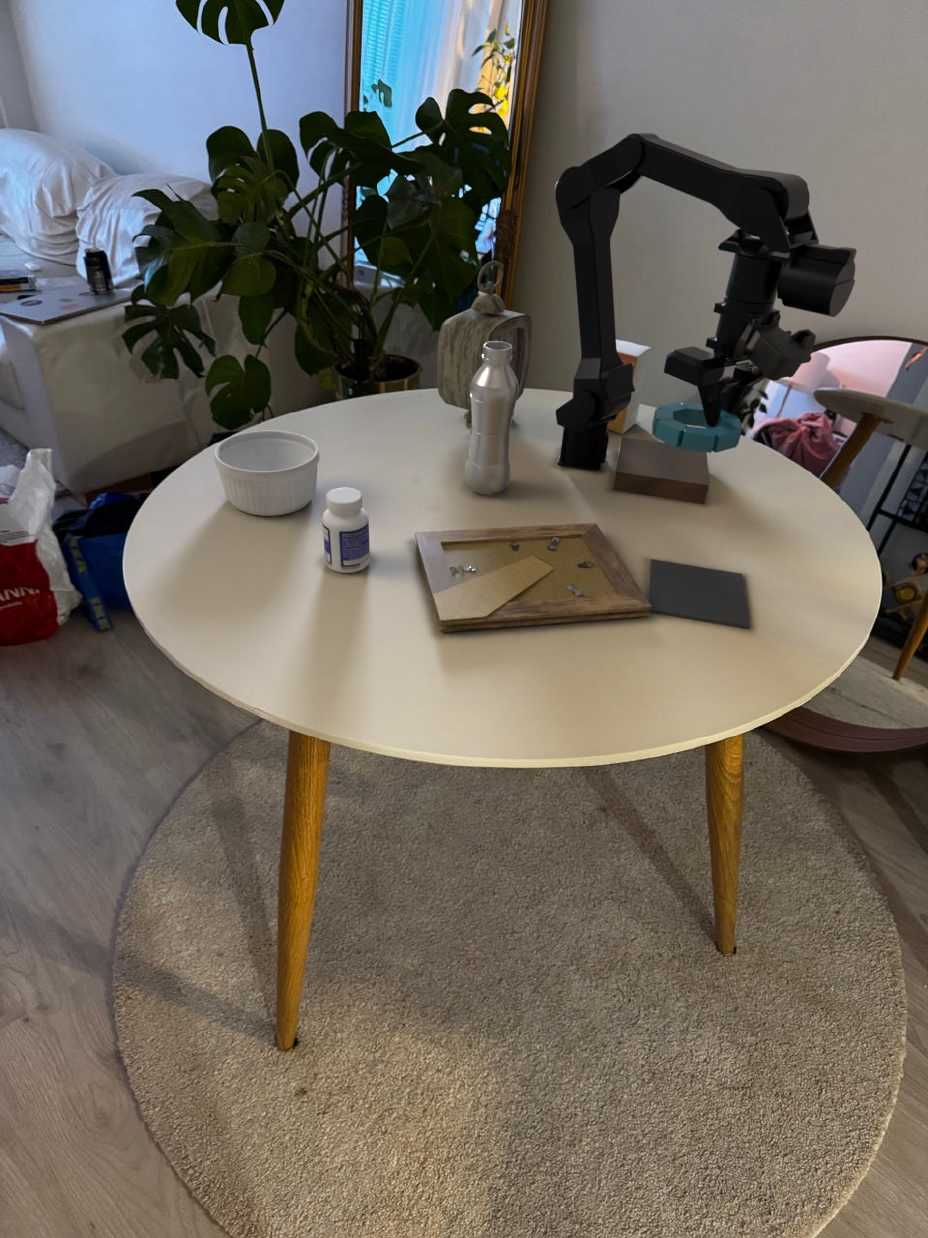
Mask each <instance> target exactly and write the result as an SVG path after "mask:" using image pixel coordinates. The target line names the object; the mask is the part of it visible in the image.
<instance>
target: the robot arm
mask: <svg viewBox="0 0 928 1238" xmlns="http://www.w3.org/2000/svg"><path fill="white" fill-rule="evenodd" d="M643 177H644V178H647V179H649V180H652V181H654V182H656V183H659V184H661V185H664V186H666V187H669V188H671V189H674V190H676V191H679V192H681V193H683V194H686V195H688V196H690V197H693V198H695V199H698V200H700V201H703V202H705V203H708V204H710V205H712V206H713V207H714V208H716V209H718V210H719V212H720V213H721V214H722V215H723V216H724V218H725V219H726V220H727V221H728V222H730V223H731V224H733V225H734V226H736V227H737V229H735V230H734V231H733V233H732V234H731V235H730V236H729V237H727V238H726V239H724V240H723V241H721V242H720V243H719V244H718V245H717V249H718V250H719V251H722V252H727V253H733V254H734V256H733V259H732V264H731V268H730V273H729V277H728V281H727V285H726V290H725V292H724V293H725V294H724V297H723V301H720V302H715V303H714V307H713V313H716V314H719V319H718V322H717V327H716V331H715V335H714V336H711V337H707V338H706V342H705V348H707V349H711V350H712V352H710V351H707V350H704V349H703V348H699V347H697V346H688V347H687V346H686V347H682V348H677V349H673V350H671V351H670V352H669V353H668V354H667V355H666V358H665V362H664V367H663V374H666V375H669V376H671V377H673V378H676V379H678V380H681V381H683V382H685V383H688V384H690V385H693V386H695V387H697V388H696V389H697V391H698V394H699V397H700V398H699V399H700V402H701V404H702V406H703V410H704V415H705V419H706V423H707V425H708V426H710V427H715V425H716V423H717V421H718V418H719V416H720V413H721V410H724V411H726V412H729V413H731V414H733V415H735V413H736V412H737V410H738V408H739V407H740V405H741V403H743V401H744V399H745V398H746V396H747V394H748V393H749V392H750V391H751V389H752V387H753V386H754V385H756V384H757V383H758V382H761V381H763V380H764V379H768V380H770V381H773V382H777V381H779V380H781V379H784V378H790V379H791V378H792V377H794V376H795V374H796V373H797V371H798V370H799V368H800V367H801V366H802V365H803V364H808V363H810V362H811V361H812V353H813V352H814V349H815V344H816V340H817V339H816V338H817V335H816V334H815V333H814V332H813V331H812V330H810V328H805V329H801V330H797V331H795V332H794V333H793V332H792V331H791V330H783V329H782V328H781V327H780V321H781V318H782V315H781V310H779V309H776V308H774V307H775V303H776V300H781V303H782V305H783V307H788V308H790V309H791V308H792V309H797V310H800V311H805V312H808V313H809V312H810V313H814V314H817V315H822V316H827V317H830V318H835V317H837V316H838V315H839V314H840V313H841V312H842V311H843V309H844V307H845V306H846V304H847V302H848V300H849V299H850V297H851V294H852V293H853V290H854V286H855V283H856V279H855V276H856V263H855V259H856V255H857V252H858V250H857V248H854V247H848V246H840V247H839V246H838V247H837V246H830V245H825V244H820V240H819V237H818V234H817V230H816V227H815V224H814V222H813V219H812V216H811V212H810V210H809V206H810V198H811V197H810V191H809V187H808V183H807V181H806V180H805V179H804V178H803V177H801V176H800V175H797V174H794V173H787V172H778V171H770V170H762V169H761V170H760V169H749V168H742V167H741V168H740V167H736V166H734V165H731V164H728V163H726V162H723V161H721V160H718V159H716V158H713V157H710V156H707V155H704V154H702V153H699V152H697V151H694V150H692V149H689V148H686V147H683V146H681V145H678V144H676V143H673V142H670V141H667V140H666V139H665V140H664V139H662V138H661V137H659V136H658V135H657V134H655V133H653V132H634V133H630V134H627V135H626V136H625V137H624V138H622V139H621V140H620V141H618V142H617V143H616V144H614V145H613V146H612V147H609V148H608V149H606V150H604V151H602V152H600V153H599V154H597V155H595V156H593V157H591V158H589V159H588V160H586V161H584V162H583V163H582V164H581V165H573V166H570V167H568V168H566V169H565V170H564V171H563V172H562V173H561V175H560V177H559V179H558V181H556V184H555V188H554V198H555V204H556V209H557V213H558V218H559V223H560V225H561V227H562V229H563V230H564V232H565V235H566V236H567V238H568V239H569V241H570V243H571V245H572V250H573V251H572V252H573V263H574V272H575V273H574V276H575V286H576V287H575V290H576V301H577V302H576V303H577V315H578V328H579V341H580V361H579V363H578V366H577V369H576V372H575V374H574V378H573V383H572V384H573V386H572V398H571V399H569V400H568V401H567V402H565V403H564V404H562V405H561V406H560V407H558V408H556V409H555V417H556V418H555V419H556V424H557V426H560V427H563V432H562V437H561V438H562V439H561V446H560V452H559V456H558V459H557V462H556V464H557V466H560V467H566V468H572V469H577V470H586V471H592V472H601V468H602V465H604V464H605V463H606V458H607V452H608V447H609V442H610V437H611V432H610V431H607V430H608V429H607V425H608V422H610V421H614V420H615V419H616V418H617V416H618V414H619V413H620V412H621V411H623V410H625V408H626V407H627V406H628V404H630V401H631V395H632V392H635V388H634V385H633V380H632V378H633V365H632V363H627V364H623V362H622V360H621V358H620V357H619V355H618V353H617V349H616V340H617V335H616V334H617V333H616V318H615V303H614V302H615V301H614V285H613V284H614V282H613V267H612V266H613V265H612V251H611V250H612V249H611V238H612V235H613V232H614V229H615V226H616V224H617V220H618V218H619V215H620V205H621V204H620V203H621V196H622V195H624V194H625V193H627V192H628V191H630V190H631V189H632V188H634V187H635V186H636V185H637V183H639V181H640V180H642V178H643ZM792 333H793V334H792Z"/></svg>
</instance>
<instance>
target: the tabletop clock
mask: <svg viewBox="0 0 928 1238" xmlns="http://www.w3.org/2000/svg"><path fill="white" fill-rule="evenodd" d="M492 267H498V269H499V273H500V275H499V278H498V280H497V282H495V284H494V282H493V281H490V280H489V281H487V282H486V287H483V286H482V285H481V282H482V281H481V280H482V277H483V275H484V273H485V272H486V271H487V270H488V269H489V268H492ZM503 278H504V267H503V265H502V263H501V262H499V261H498V260H492V261H489V262H487V263H485V264H484V265H483V266H482V267H481V268H480V271H479V273H478V276H477V288H478V290H479V292H482V293H481V294H479V295H478V296H477V297H476V298H475V299H474V300H473V302H472V304H471V308H469V309H465V310H464V311H462V312H460V313H457V314H455V315H453V316H451V317H449V318H447V319H446V320H445V321H444V322H443V323H442V324H441V327H440V331H439V335H438V348H437V360H436V361H437V362H436V363H437V364H436V365H437V366H436V367H437V370H436V371H437V373H436V374H437V376H436V377H437V378H436V379H437V380H436V381H437V392H438V396H439V397H440V399H442V401H443V402H444V403H445V404H446V405H450V406H453V407H456V408H460V409H463V410H466V411H465V412H464V414H463V418H464V420H466V421H468V422H470V421H472V407H471V393H470V385H471V382H472V379H473V377H474V375H475V374H476V372H477V371H478V370H479V369H480V367H481V366H482V365H483V364H484V361H483V360H482V355H483V348H484V344H485V343H487V342H491V341H500V342H505V343H508V344H510V345H511V346H512V353H511V356H512V361H511V362H510V363H509V366H510V367H511V369H512V371H513V372H514V374H515V376H516V378H517V381H518V385H519V391H518V396H517V400H516V402H517V401H518V400H519V399H520V398H521V397H522V395H523V394H524V390H525V387H526V382H527V377H528V372H529V365H530V357H531V344H532V317H531V316H530V315H528V314H524V313H520V312H516V311H512V310H507V309H506V305H505V302H504V300H503V299H502V298H501V296H500V295H497V294H495V293H494V291H496V290H497V289H498V288H499V287H500V286H501V283H502V281H503ZM514 415H515V412H514V413H513V416H514ZM471 435H472V428H471V429H470V436H471Z"/></svg>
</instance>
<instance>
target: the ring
mask: <svg viewBox="0 0 928 1238" xmlns="http://www.w3.org/2000/svg"><path fill="white" fill-rule="evenodd" d="M651 424H652V425H651V428H652V429H651V434H652V436H654V438H655V439H658V440H659V441H660V442H664V443H667V444H669V445H671V446H673V447H675V448H677V447H681V449H683V450H691V451H699V452H707V454H712V452H714V453H720V452H723V451H728V450H731V449H734V448H737V446H739V443H740V439H741V436H742V431H743V426H742V422H741V419H740V417H738V416H737V415H736V414H734V415H733V414H731V413H729V412H726V411H724V410H721V413H720V416H719V418H718V421H717V423H716V425H715V427H710V426H708V425H707V423H706V419H705V415H704V410H703V406H702V403H701V404H700V403H694V402H693V403H692V402H683V401H682V402H681V403H680V402H674V403H673V402H672V403H669V404H664V405H661V406H660V405H659V406H657V408H655V409H654V414H653V419H652V423H651Z"/></svg>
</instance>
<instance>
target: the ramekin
mask: <svg viewBox="0 0 928 1238" xmlns="http://www.w3.org/2000/svg"><path fill="white" fill-rule="evenodd" d="M213 458H214V459H213V460H214V465H215V466H216V468H217V470H218V473H219V477H220V481H221V485H222V488H223V491H224V494H225V497H226V499H227V500H228V501H229V503H230V504H232V506H234V507H235V508H236V509H237V510H239V511H241V512H243V513H246V514H249V515H254V516H261V517H275V516H282V515H283V516H285V515H287V514H291V513H294V512H297V511H300V510H301V509H303V508H304V507H305V506H307V505H308V504H309V503H310V502H311V501H312V499H313V498H314V496H315V493H316V489H317V482H318V481H317V480H318V465H319V463H320V448H319V446H318V444H317V443H316V442H315V441H314V440H313V439H311V438H309V437H308V436H305V435H304V434H303V435H302V434H300V433H298V432H297V433H296V432H293V431H286V430H278V429H277V430H276V429H265V430H263V429H262V430H254V431H247V432H242V433H238V434H234V435H232V436H229V437H227V438H225V439H224V440H222V441H221V442H219V443H218V444H217V445H216V446H215V448H214V450H213Z"/></svg>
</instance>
